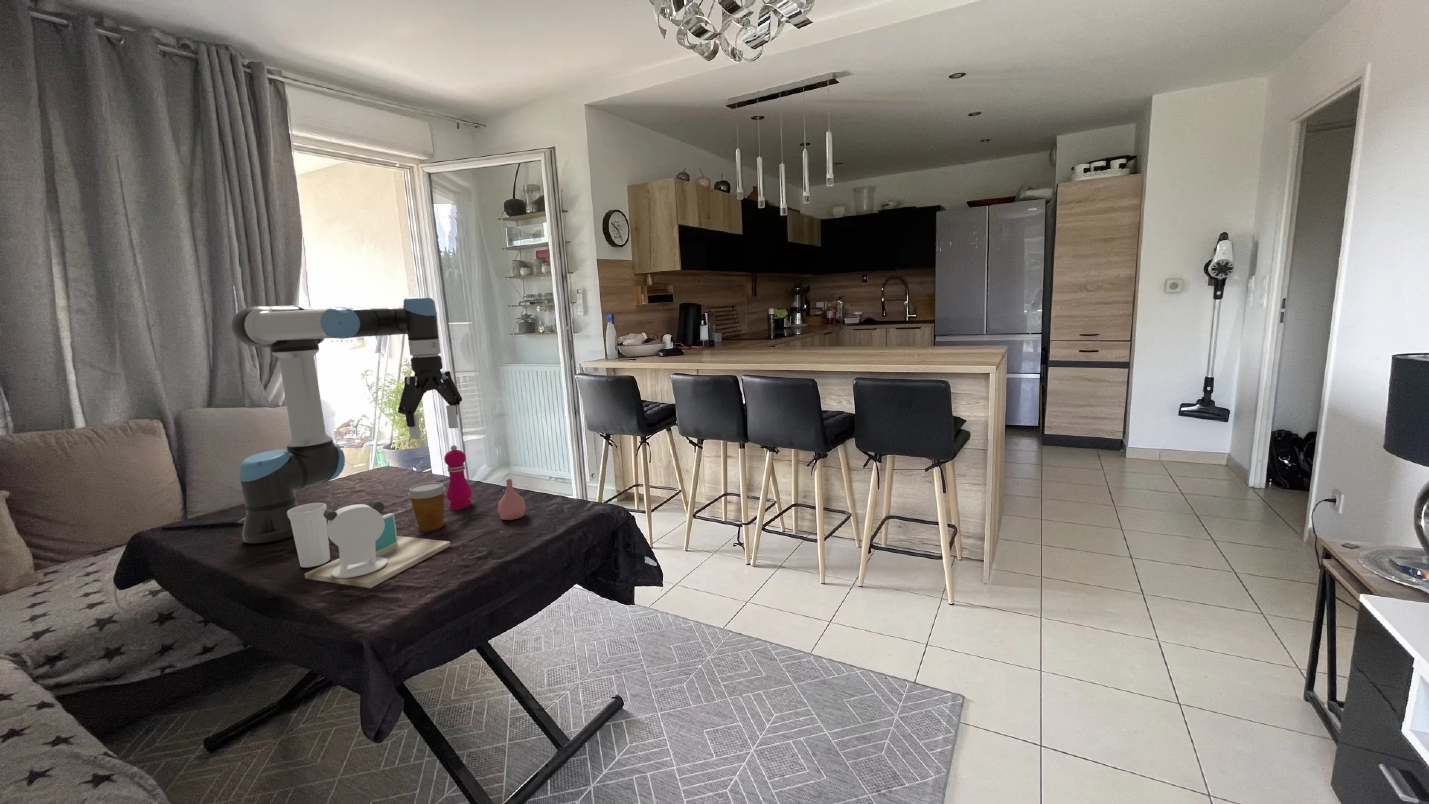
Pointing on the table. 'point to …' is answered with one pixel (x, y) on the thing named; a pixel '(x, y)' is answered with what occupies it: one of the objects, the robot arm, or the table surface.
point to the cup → (310, 533)
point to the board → (397, 561)
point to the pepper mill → (457, 479)
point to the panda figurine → (356, 538)
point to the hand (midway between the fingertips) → (435, 433)
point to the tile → (387, 534)
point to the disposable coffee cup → (428, 505)
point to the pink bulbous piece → (511, 504)
